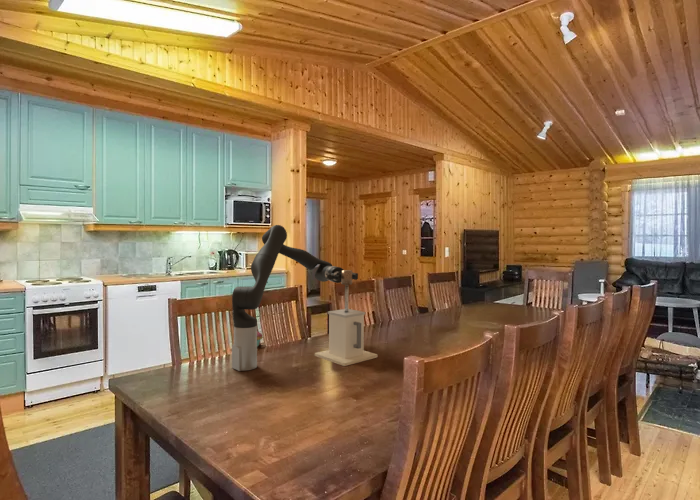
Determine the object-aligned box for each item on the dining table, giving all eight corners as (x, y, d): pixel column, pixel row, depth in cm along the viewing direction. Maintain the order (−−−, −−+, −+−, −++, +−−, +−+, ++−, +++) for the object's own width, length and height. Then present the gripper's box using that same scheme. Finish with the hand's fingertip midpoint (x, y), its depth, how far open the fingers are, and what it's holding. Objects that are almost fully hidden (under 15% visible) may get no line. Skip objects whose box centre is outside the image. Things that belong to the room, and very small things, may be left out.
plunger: (345, 326, 192) (346, 271, 191) (332, 323, 198) (332, 270, 197) (360, 323, 198) (360, 270, 197) (347, 320, 204) (347, 269, 203)
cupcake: (252, 349, 210) (252, 323, 209) (240, 346, 215) (240, 321, 214) (266, 345, 216) (266, 321, 216) (254, 342, 221) (254, 318, 221)
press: (344, 366, 184) (344, 318, 184) (314, 355, 199) (315, 311, 198) (377, 357, 198) (378, 312, 197) (347, 348, 213) (348, 306, 212)
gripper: (320, 266, 208) (332, 269, 193) (348, 266, 214) (362, 268, 199) (320, 282, 208) (332, 286, 193) (348, 281, 214) (362, 285, 199)
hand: (347, 277), depth 196 cm, fingers open, 8 cm apart
